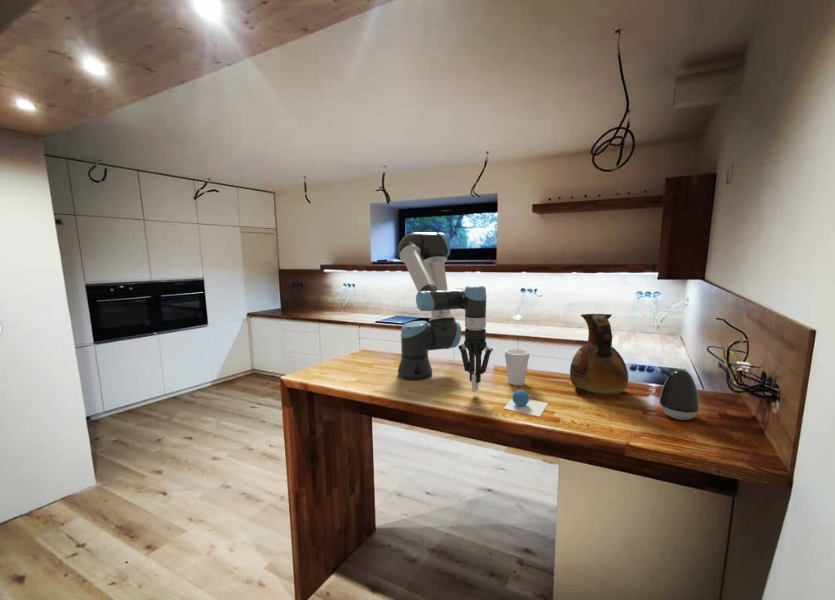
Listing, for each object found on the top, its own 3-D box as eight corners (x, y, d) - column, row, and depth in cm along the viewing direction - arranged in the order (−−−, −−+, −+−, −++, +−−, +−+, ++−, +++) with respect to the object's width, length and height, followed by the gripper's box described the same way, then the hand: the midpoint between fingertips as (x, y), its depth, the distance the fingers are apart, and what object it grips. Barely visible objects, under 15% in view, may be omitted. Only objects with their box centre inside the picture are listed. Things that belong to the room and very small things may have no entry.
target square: (503, 408, 120) (503, 408, 120) (514, 396, 130) (514, 396, 130) (539, 417, 113) (539, 416, 113) (548, 403, 123) (548, 403, 123)
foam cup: (531, 386, 139) (532, 354, 138) (507, 387, 140) (508, 355, 138) (524, 378, 149) (525, 348, 147) (502, 378, 149) (502, 348, 148)
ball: (507, 397, 121) (519, 390, 118) (512, 391, 126) (524, 385, 123) (516, 411, 120) (529, 404, 117) (521, 405, 125) (534, 398, 122)
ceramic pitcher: (612, 382, 143) (616, 309, 140) (638, 402, 123) (643, 317, 120) (562, 381, 145) (565, 309, 142) (580, 400, 125) (583, 317, 122)
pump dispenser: (659, 406, 119) (662, 363, 118) (698, 415, 113) (702, 369, 111) (656, 417, 112) (659, 370, 110) (697, 427, 105) (702, 377, 103)
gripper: (454, 328, 129) (454, 390, 132) (488, 331, 122) (487, 397, 125) (463, 324, 135) (463, 384, 138) (496, 328, 128) (495, 390, 131)
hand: (475, 390), depth 131 cm, fingers closed
